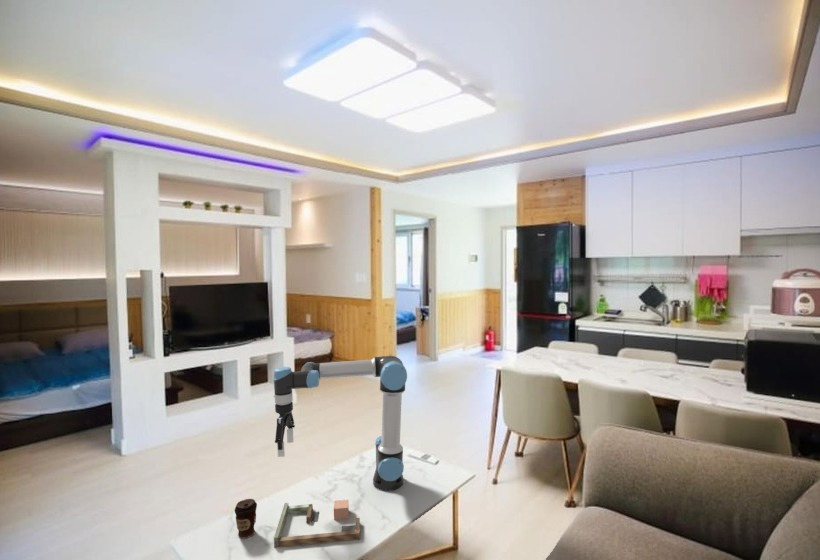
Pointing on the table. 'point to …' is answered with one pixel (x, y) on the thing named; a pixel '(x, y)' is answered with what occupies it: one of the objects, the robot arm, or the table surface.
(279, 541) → the trap box
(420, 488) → the table surface
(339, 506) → the block
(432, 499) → the table surface
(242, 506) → the coffee cup
